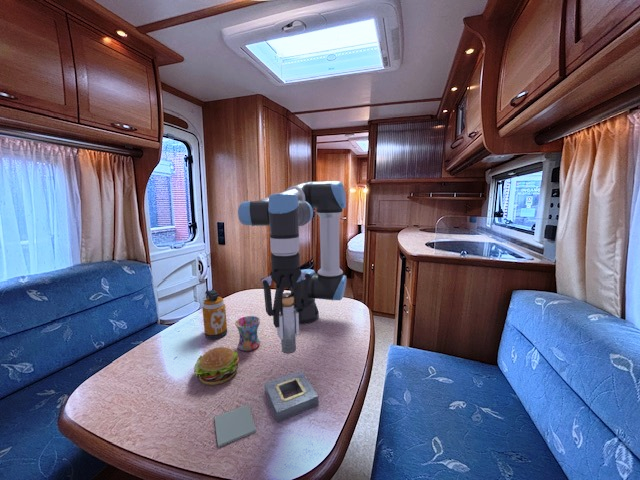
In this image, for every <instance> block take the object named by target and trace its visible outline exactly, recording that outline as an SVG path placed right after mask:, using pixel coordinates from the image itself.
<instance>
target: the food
mask: <svg viewBox="0 0 640 480" xmlns="http://www.w3.org/2000/svg"><path fill="white" fill-rule="evenodd" d="M238 353H239V352H236V351H235V350H233V349H231V348H229V347H226V346H220V347H215V348H212V349H210V350H208V351H206V352H205V353H204V354H203V355H200V356H199V357H198V359H197V360H196V363H195V365H194V371H193V372H194V374H195V375H196V377H197V379H199V380H200V382H201V383H203V384H204V385H210V386H215V385H221V384H222V383H223V384H224V383H226V382H227V381H228V380H230V379H231V378H233V377H234V375H235V374H236V373H237V371H238V369H239V363H240V357H239V356H238V355H239V354H238Z"/></svg>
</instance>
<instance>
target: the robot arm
mask: <svg viewBox="0 0 640 480" xmlns="http://www.w3.org/2000/svg"><path fill="white" fill-rule="evenodd" d="M346 208H347V194H346V188H345V187H344V184H343V182H341V181H339V180H324V181H323V180H322V181H320V180H319V181H305V182H302V183H301V182H300V183H299V184H295V185H291V186H290V187H288V188H286V189H285V191H282V192H280V193H279V192H278V193H271V194H270V195H269V196H268V197H265V198H262V199H259V200H249V201H242V202H241V203H240V204H239V205H238V209H237V217H238V221H239V222H240V224H242V225H244V226H251V227H255V226H256V227H258V226H259V227H260V226H261V227H264V226H265V227H269V239H270V241H269V242H270V252H271V255H270V263H271V264H270V265H271V267H270V268H271V269H270V270H271V271H270V273H269V276H267V277H265V278H263V277H262V278H260V282H261V285H262V287H263V294H264V305H265V312H266V313H267V316H269V317H272V318H273V319H272V320H273V326H274V328H276V333H277V334H276V335H277V337H278V338H279V340H281V339H283V322H282V315H281V314H280V308H281V302H282V295H283V293H285V292H284V291H285V289H286V288H288V287H289V290H290V293H292V294H293V295H294V296H295V333H296V336H299V335H300V325H306V324H312V323H314V322H316V321H317V320H318V319H319V318H320V313H319V309H318V306H317V303H316V300H327V301H333V302H334V301H341V300H342V299H343V298H344V295H345V293H346V287H347V280H348V278H347V275H345V274H344V271H343V270H342V269H341V268H340V216H341V215H342V213H344V211H343V209H346ZM314 209H315V212H316V213H315V214H316V215H318V216H319V235H320V236H319V238H320V239H319V243H320V244H319V245H320V269H318V270H317V273H316V271H315V270H314V269H311V268H306V269H301V267H300V266H301V261H300V259H301V258H300V255H301V254H300V253H299V251H300V229H299V228H300V227H303V226H305V225H307V224H308V223H310V222H311V221H312V220H313V217H314ZM272 282H274V283H275V292H274V293H275V294H274V299H273V301H272V289H271V287H270V286H271V285H272Z"/></svg>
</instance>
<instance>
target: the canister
mask: <svg viewBox="0 0 640 480" xmlns="http://www.w3.org/2000/svg"><path fill="white" fill-rule="evenodd" d="M204 294H205V297H203V298H202V301H203V303H202V304H203V307H202V308H201V309H202V318H203V329H204V337H205V338H206V339H211V340H212V339H219V338H221V337H223V336H225V335H226V334H227V333H228V324H227V312H226V304H225V303H224V301H225V300H224V298H222V296H220V294H219V293H218V291H216V290H215V289H214V288H211V290H209V289H207V290H206V291H205V292H204Z"/></svg>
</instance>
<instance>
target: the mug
mask: <svg viewBox="0 0 640 480" xmlns="http://www.w3.org/2000/svg"><path fill="white" fill-rule="evenodd" d="M260 323H261V319H260V317H258V316H255V315H248V316H243V317H240V318H238V319H237V320H235V323H234V324H235V327H236V328H237V331H238V335H239V340H238V344H237V348H238V349H239V350H240V351H243V352H249V351H253V350H255V349H257V348H258V347H259V346H260V344H261V340H260V339H259V337H258V329H259V326H260Z"/></svg>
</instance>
